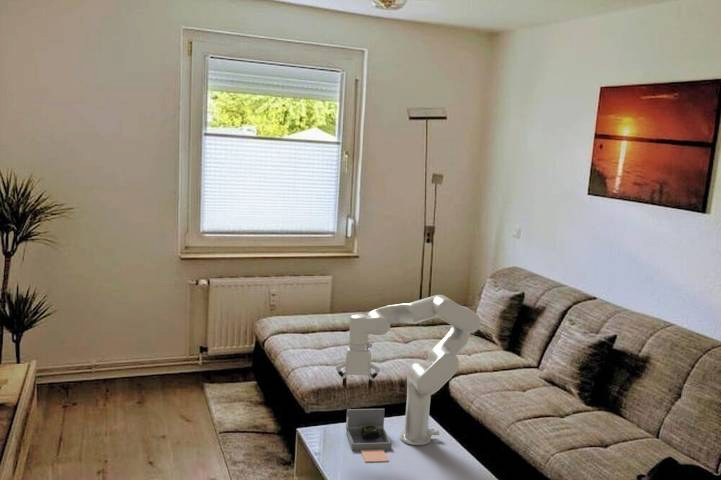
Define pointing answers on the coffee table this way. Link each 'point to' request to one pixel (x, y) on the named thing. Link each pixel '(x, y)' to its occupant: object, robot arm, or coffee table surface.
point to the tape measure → (370, 432)
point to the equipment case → (365, 418)
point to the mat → (374, 455)
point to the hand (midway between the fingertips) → (357, 388)
